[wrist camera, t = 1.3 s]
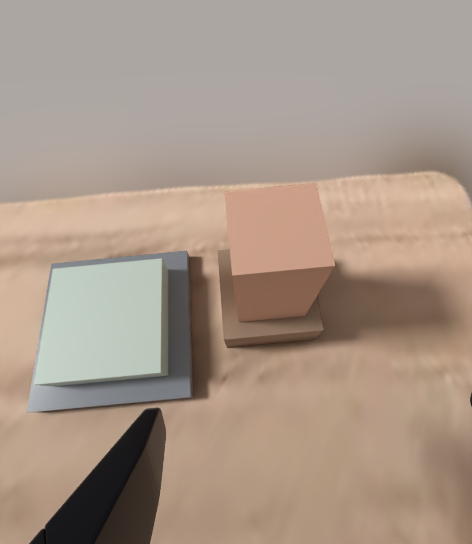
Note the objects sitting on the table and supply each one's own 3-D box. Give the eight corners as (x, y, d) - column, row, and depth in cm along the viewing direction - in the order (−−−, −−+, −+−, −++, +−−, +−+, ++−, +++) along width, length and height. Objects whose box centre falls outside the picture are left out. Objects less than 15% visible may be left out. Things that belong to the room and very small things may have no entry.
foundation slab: (168, 375, 21) (160, 372, 19) (52, 386, 21) (33, 384, 20) (168, 269, 25) (161, 258, 23) (67, 279, 25) (52, 268, 23)
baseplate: (193, 397, 22) (190, 397, 21) (36, 412, 22) (26, 412, 21) (189, 256, 26) (186, 250, 25) (58, 268, 26) (51, 263, 25)
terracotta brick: (304, 315, 21) (335, 265, 13) (238, 322, 21) (232, 275, 13) (294, 256, 22) (316, 182, 15) (233, 262, 22) (224, 191, 15)
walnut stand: (315, 339, 23) (323, 329, 20) (227, 347, 23) (223, 339, 20) (300, 259, 25) (306, 242, 23) (221, 267, 25) (217, 250, 23)
